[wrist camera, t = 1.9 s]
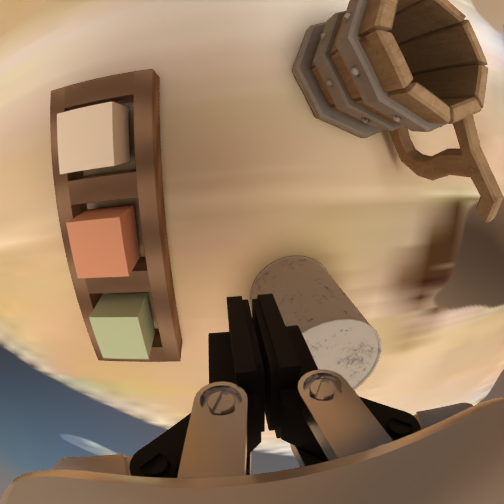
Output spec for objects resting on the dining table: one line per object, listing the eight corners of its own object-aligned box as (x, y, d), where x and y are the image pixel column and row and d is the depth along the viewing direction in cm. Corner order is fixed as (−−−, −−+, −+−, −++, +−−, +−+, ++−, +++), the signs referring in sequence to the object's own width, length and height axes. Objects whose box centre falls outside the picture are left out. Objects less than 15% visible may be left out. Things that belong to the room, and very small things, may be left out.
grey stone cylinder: (305, 337, 35) (339, 410, 24) (236, 315, 33) (249, 397, 22) (345, 273, 33) (401, 334, 21) (274, 242, 30) (310, 303, 19)
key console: (67, 95, 22) (50, 91, 18) (159, 77, 23) (152, 68, 20) (105, 342, 32) (98, 360, 29) (182, 342, 33) (180, 361, 30)
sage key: (102, 294, 28) (88, 317, 24) (146, 292, 28) (137, 316, 24) (113, 332, 30) (103, 358, 25) (155, 332, 30) (148, 359, 26)
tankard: (273, 41, 23) (328, -35, 9) (371, 15, 22) (457, -31, 8) (355, 213, 30) (446, 269, 16) (435, 169, 30) (531, 197, 16)
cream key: (79, 116, 21) (56, 113, 17) (128, 107, 22) (112, 101, 18) (81, 168, 23) (59, 174, 19) (130, 161, 24) (114, 165, 19)
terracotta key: (86, 209, 24) (66, 222, 20) (133, 205, 25) (119, 217, 21) (94, 258, 26) (77, 278, 22) (140, 256, 27) (129, 276, 23)
